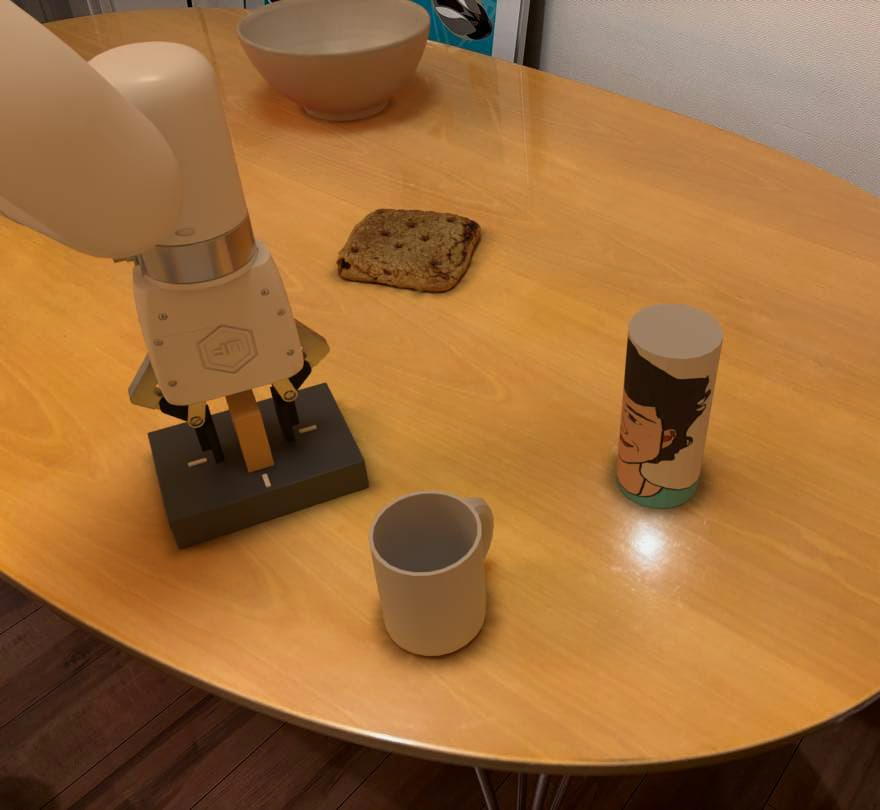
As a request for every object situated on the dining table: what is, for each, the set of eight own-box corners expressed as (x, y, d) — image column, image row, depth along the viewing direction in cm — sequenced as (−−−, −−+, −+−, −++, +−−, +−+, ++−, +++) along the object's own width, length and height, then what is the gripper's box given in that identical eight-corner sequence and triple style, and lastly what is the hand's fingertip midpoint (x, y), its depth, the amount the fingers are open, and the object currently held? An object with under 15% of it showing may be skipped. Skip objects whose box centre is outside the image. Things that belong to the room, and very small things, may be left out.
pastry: (310, 243, 101) (305, 219, 99) (444, 204, 108) (442, 181, 106) (373, 316, 90) (369, 291, 88) (518, 268, 97) (517, 244, 95)
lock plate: (178, 549, 67) (167, 521, 65) (157, 458, 74) (146, 431, 72) (369, 486, 72) (364, 458, 70) (331, 407, 79) (325, 380, 77)
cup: (362, 625, 62) (344, 541, 56) (454, 536, 68) (446, 452, 62) (441, 678, 58) (431, 595, 53) (530, 580, 65) (529, 495, 59)
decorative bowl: (453, 76, 140) (448, -4, 133) (410, 148, 120) (401, 58, 112) (292, 67, 143) (278, -12, 135) (223, 136, 123) (202, 47, 115)
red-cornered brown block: (274, 465, 69) (259, 410, 66) (249, 473, 69) (232, 418, 65) (258, 419, 73) (243, 365, 70) (234, 426, 73) (217, 372, 69)
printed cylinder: (639, 440, 76) (654, 293, 66) (711, 469, 73) (738, 321, 64) (601, 487, 72) (611, 338, 62) (676, 520, 69) (699, 370, 59)
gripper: (61, 301, 54) (147, 506, 65) (335, 240, 59) (369, 439, 71) (54, 244, 59) (135, 444, 71) (307, 192, 64) (343, 386, 76)
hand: (252, 439), depth 71 cm, fingers open, 4 cm apart
